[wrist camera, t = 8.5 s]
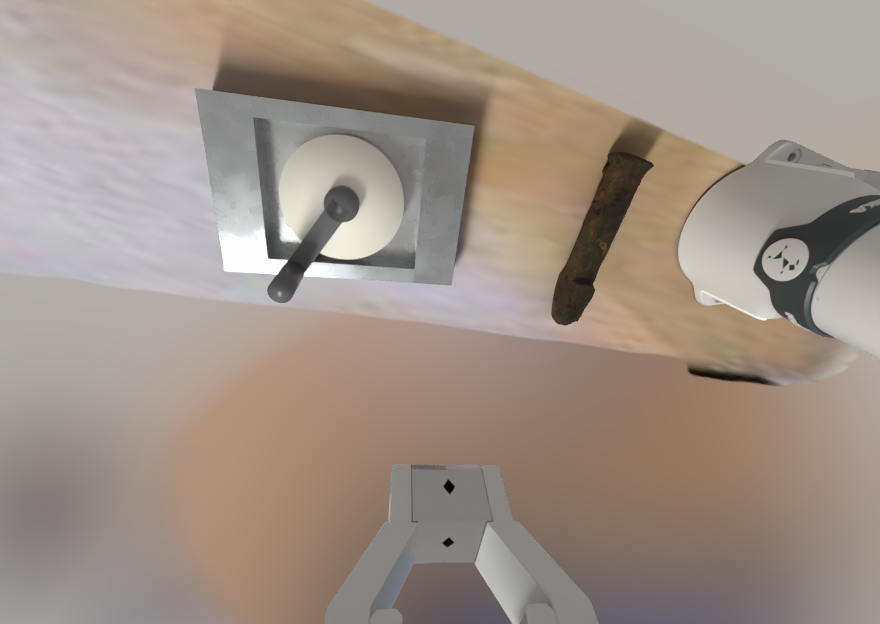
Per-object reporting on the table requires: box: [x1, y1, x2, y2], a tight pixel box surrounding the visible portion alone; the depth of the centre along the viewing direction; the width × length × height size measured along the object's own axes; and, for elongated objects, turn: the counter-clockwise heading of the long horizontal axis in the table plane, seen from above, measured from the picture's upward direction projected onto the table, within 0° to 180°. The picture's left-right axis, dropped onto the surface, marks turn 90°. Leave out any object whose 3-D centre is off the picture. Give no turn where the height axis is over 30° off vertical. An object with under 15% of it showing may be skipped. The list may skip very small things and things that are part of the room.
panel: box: [195, 88, 475, 285], centre depth 35 cm, size 22×16×3 cm
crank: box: [267, 134, 404, 303], centre depth 32 cm, size 11×14×8 cm
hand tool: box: [552, 152, 654, 325], centre depth 39 cm, size 19×4×5 cm, turn 163°
